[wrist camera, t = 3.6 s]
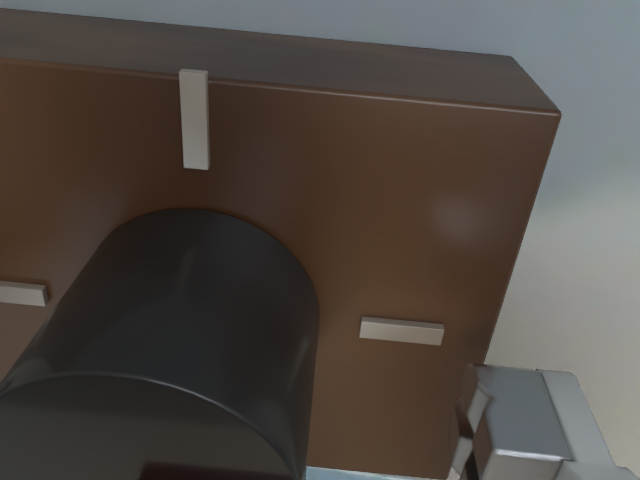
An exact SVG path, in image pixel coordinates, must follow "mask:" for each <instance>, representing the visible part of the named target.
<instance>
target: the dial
mask: <svg viewBox="0 0 640 480" xmlns="http://www.w3.org/2000/svg"><path fill="white" fill-rule="evenodd" d="M318 331H319V306H318V299H317V296H316V293H315V290H314V287H313V285H312V283H311V281H310V279H309V276H308V274H307V273H306V271H305V270H304V269H303V267H302V266H301V264H300V263H299V261H298V260H297V259H296V258H295V257H294V256H293V255H292V253H291V252H290V251H289V250H288V249H287V248H286V247H284V246H283V245H282V244H281V243H280V242H279V241H277V240H276V239H275V238H273V237H272V236H270V235H269V234H267V233H266V232H264V231H263V230H261V229H259V228H257V227H255V226H253V225H252V224H250V223H248V222H245V221H243V220H240V219H237V218H235V217H232V216H229V215H225V214H221V213H217V212H212V211H206V210H199V209H173V210H164V211H159V212H154V213H150V214H147V215H144V216H141V217H138V218H135V219H133V220H131V221H129V222H127V223H125V224H123V225H122V226H120V227H119V228H117V229H116V230H115V231H113V232H112V233H111V234H110V235H109V236H108V237H107V238H106V239H105V240H104V241H103V242H102V243H101V244H100V245H99V247H98V248H97V250H96V251H95V252H94V254H93V255H92V256H91V258H90V259H89V261H88V262H87V263H86V265H85V266H84V268H83V269H82V270H81V272H80V273H79V275H78V276H77V277H76V279H75V280H74V281H73V283H72V284H71V286H70V287H69V288H68V290H67V291H66V293H65V294H64V295H63V297H62V298H61V299H60V301H59V302H58V304H57V305H56V306H55V308H54V309H53V311H52V312H51V313H50V315H49V316H48V318H47V319H46V320H45V322H44V323H43V324H42V326H41V327H40V329H39V330H38V331H37V333H36V334H35V336H34V337H33V338H32V340H31V341H30V343H29V344H28V345H27V347H26V348H25V349H24V351H23V352H22V354H21V355H20V356H19V358H18V359H17V361H16V362H15V363H14V365H13V366H12V367H11V369H10V370H9V372H8V373H7V374H6V376H5V377H4V379H3V380H2V381H1V383H0V480H305V475H306V464H307V453H308V442H309V431H310V420H311V409H312V398H313V387H314V376H315V365H316V354H317V342H318Z"/></svg>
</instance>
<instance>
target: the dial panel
mask: <svg viewBox="0 0 640 480" xmlns="http://www.w3.org/2000/svg"><path fill="white" fill-rule="evenodd" d="M561 116H562V115H561V111H560V110H559V109H558V108H557V106H556V105H555V104H554V103H553V102H552V101H551V100H550V99H549V97H548V96H547V95H546V94H545V93H544V92H543V91H542V90H541V89H540V87H539V86H538V85H537V84H536V83H535V82H534V81H533V80H532V78H531V77H530V76H529V75H528V74H527V73H526V72H525V71H524V70H523V68H522V67H521V66H520V65H519V64H518V63H517V62H516V61H515V59H514V58H512V57H511V56H502V55H491V54H481V53H470V52H459V51H449V50H438V49H428V48H417V47H407V46H396V45H385V44H375V43H364V42H354V41H343V40H333V39H322V38H311V37H301V36H290V35H280V34H269V33H259V32H248V31H238V30H227V29H216V28H206V27H195V26H185V25H174V24H164V23H153V22H142V21H132V20H121V19H111V18H100V17H90V16H79V15H68V14H58V13H47V12H37V11H26V10H16V9H5V8H0V383H1V381H2V380H3V379H4V377H5V376H6V374H7V373H8V372H9V370H10V369H11V367H12V366H13V365H14V363H15V362H16V361H17V359H18V358H19V356H20V355H21V354H22V352H23V351H24V349H25V348H26V347H27V345H28V344H29V343H30V341H31V340H32V338H33V337H34V336H35V334H36V333H37V331H38V330H39V329H40V327H41V326H42V324H43V323H44V322H45V320H46V319H47V318H48V316H49V315H50V313H51V312H52V311H53V309H54V308H55V306H56V305H57V304H58V302H59V301H60V299H61V298H62V297H63V295H64V294H65V293H66V291H67V290H68V288H69V287H70V286H71V284H72V283H73V281H74V280H75V279H76V277H77V276H78V275H79V273H80V272H81V270H82V269H83V268H84V266H85V265H86V263H87V262H88V261H89V259H90V258H91V256H92V255H93V254H94V252H95V251H96V250H97V248H98V247H99V245H100V244H101V243H102V242H103V241H104V240H105V239H106V238H107V237H108V236H109V235H110V234H111V233H112V232H113V231H115V230H116V229H117V228H119V227H120V226H122V225H123V224H125V223H127V222H129V221H131V220H133V219H135V218H138V217H141V216H144V215H147V214H150V213H154V212H159V211H164V210H173V209H199V210H206V211H212V212H217V213H221V214H225V215H229V216H232V217H235V218H237V219H240V220H243V221H245V222H248V223H250V224H252V225H253V226H255V227H257V228H259V229H261V230H263V231H264V232H266V233H267V234H269V235H270V236H272V237H273V238H275V239H276V240H277V241H279V242H280V243H281V244H282V245H283V246H284V247H286V248H287V249H288V250H289V251H290V252H291V253H292V255H293V256H294V257H295V258H296V259H297V260H298V261H299V263H300V264H301V266H302V267H303V269H304V270H305V271H306V273H307V274H308V276H309V279H310V281H311V283H312V285H313V287H314V290H315V293H316V296H317V299H318V306H319V331H318V342H317V354H316V365H315V376H314V387H313V398H312V409H311V420H310V431H309V442H308V453H307V464H306V466H311V467H321V468H331V469H341V470H350V471H360V472H370V473H380V474H390V475H400V476H410V477H420V478H430V479H440V480H446V479H447V478H448V475H449V472H450V469H451V460H450V453H449V437H448V436H449V425H450V417H451V413H452V409H453V405H454V402H456V401H457V400H459V399H460V398H461V397H463V393H462V388H461V383H460V381H461V378H462V375H463V371H464V369H465V367H466V366H467V364H468V363H474V364H484V361H485V358H486V354H487V351H488V348H489V345H490V342H491V338H492V335H493V332H494V329H495V326H496V323H497V319H498V316H499V313H500V310H501V307H502V303H503V300H504V297H505V294H506V291H507V288H508V284H509V281H510V278H511V275H512V272H513V268H514V265H515V262H516V259H517V256H518V253H519V249H520V246H521V243H522V240H523V237H524V233H525V230H526V227H527V224H528V221H529V218H530V214H531V211H532V208H533V205H534V202H535V198H536V195H537V192H538V189H539V186H540V183H541V179H542V176H543V173H544V170H545V167H546V163H547V160H548V157H549V154H550V151H551V148H552V144H553V141H554V138H555V135H556V132H557V128H558V125H559V122H560V119H561Z"/></svg>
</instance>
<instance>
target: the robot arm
mask: <svg viewBox="0 0 640 480" xmlns="http://www.w3.org/2000/svg"><path fill="white" fill-rule="evenodd" d="M460 383H461V388H462V393H463V397H461V398H460V399H459V400H457V401H456V402H454V405H453V409H452V413H451V417H450V425H449V436H448V437H449V453H450V460H451V466H452V467H453V468H454V469H455V470H456V471H457V473H458V474H459V475H460V479H459V480H640V478H638V477H637V476H636V475H635V474H634V473H633V472H631V471H630V470H629V469H628V468H625V467H618V466H616V465H615V463H614V461H613V458H612V456H611V454H610V452H609V449H608V447H607V445H606V443H605V440H604V438H603V436H602V434H601V431H600V429H599V427H598V425H597V422H596V420H595V418H594V416H593V413H592V411H591V409H590V407H589V404H588V402H587V400H586V398H585V396H584V393H583V391H582V389H581V387H580V384H579V382H578V380H577V378H576V377H575V376H574V375H573V374H572V373H571V372H563V371H552V370H540V369H536V370H533V369H526V368H515V367H505V366H495V365H484V364H474V363H468V364H467V366H466V367H465V369H464V371H463V375H462V378H461V381H460Z"/></svg>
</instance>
